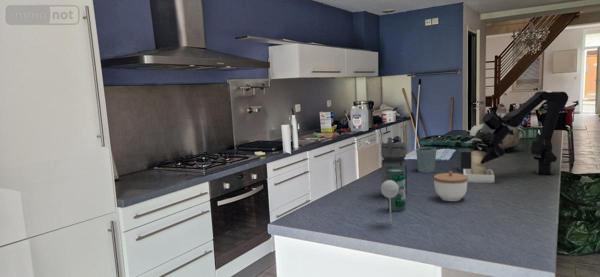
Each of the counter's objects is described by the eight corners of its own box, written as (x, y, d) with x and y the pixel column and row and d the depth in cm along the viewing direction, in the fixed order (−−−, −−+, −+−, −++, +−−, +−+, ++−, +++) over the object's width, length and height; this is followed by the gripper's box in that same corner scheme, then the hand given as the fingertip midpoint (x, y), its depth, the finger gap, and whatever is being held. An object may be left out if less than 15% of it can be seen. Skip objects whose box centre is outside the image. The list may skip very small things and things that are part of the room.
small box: (474, 172, 209) (474, 151, 207) (460, 172, 210) (460, 151, 209) (469, 167, 219) (469, 148, 218) (456, 167, 220) (456, 148, 219)
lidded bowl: (451, 205, 156) (451, 176, 155) (427, 198, 168) (426, 171, 166) (474, 199, 162) (474, 171, 161) (449, 193, 173) (449, 167, 172)
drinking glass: (415, 172, 214) (414, 149, 212) (417, 168, 223) (417, 146, 222) (435, 173, 210) (435, 150, 208) (437, 169, 219) (437, 147, 218)
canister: (474, 175, 197) (474, 150, 196) (487, 176, 193) (487, 151, 192) (469, 177, 193) (469, 152, 192) (481, 179, 189) (482, 153, 188)
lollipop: (379, 221, 143) (378, 179, 141) (396, 220, 143) (395, 177, 141) (384, 227, 137) (383, 183, 135) (402, 226, 137) (401, 181, 135)
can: (402, 212, 151) (401, 172, 150) (386, 210, 155) (385, 170, 153) (407, 207, 157) (406, 168, 155) (391, 205, 160) (390, 167, 158)
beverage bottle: (411, 191, 178) (410, 134, 175) (402, 199, 167) (401, 138, 164) (388, 189, 184) (387, 133, 180) (378, 197, 172) (376, 137, 169)
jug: (484, 154, 253) (484, 105, 249) (475, 149, 274) (475, 103, 270) (527, 153, 248) (528, 103, 245) (515, 148, 269) (515, 101, 266)
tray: (463, 176, 201) (463, 168, 201) (491, 176, 197) (491, 169, 197) (464, 182, 190) (464, 174, 189) (494, 183, 185) (494, 175, 185)
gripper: (475, 123, 200) (453, 147, 200) (498, 126, 181) (475, 153, 181) (490, 138, 202) (468, 162, 202) (515, 143, 183) (491, 169, 183)
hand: (475, 161), depth 192 cm, fingers open, 9 cm apart
